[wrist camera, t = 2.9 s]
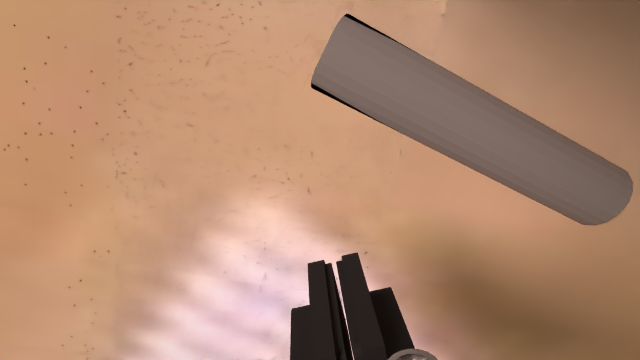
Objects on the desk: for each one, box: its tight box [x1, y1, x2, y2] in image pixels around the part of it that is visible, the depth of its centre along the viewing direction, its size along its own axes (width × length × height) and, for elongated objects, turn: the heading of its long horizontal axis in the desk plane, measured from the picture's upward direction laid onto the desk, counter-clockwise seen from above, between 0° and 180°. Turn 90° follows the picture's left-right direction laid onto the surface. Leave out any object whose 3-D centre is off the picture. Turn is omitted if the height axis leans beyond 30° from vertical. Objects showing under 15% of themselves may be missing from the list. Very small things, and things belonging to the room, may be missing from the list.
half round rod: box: [311, 14, 633, 225], centre depth 20 cm, size 4×20×2 cm, turn 63°
